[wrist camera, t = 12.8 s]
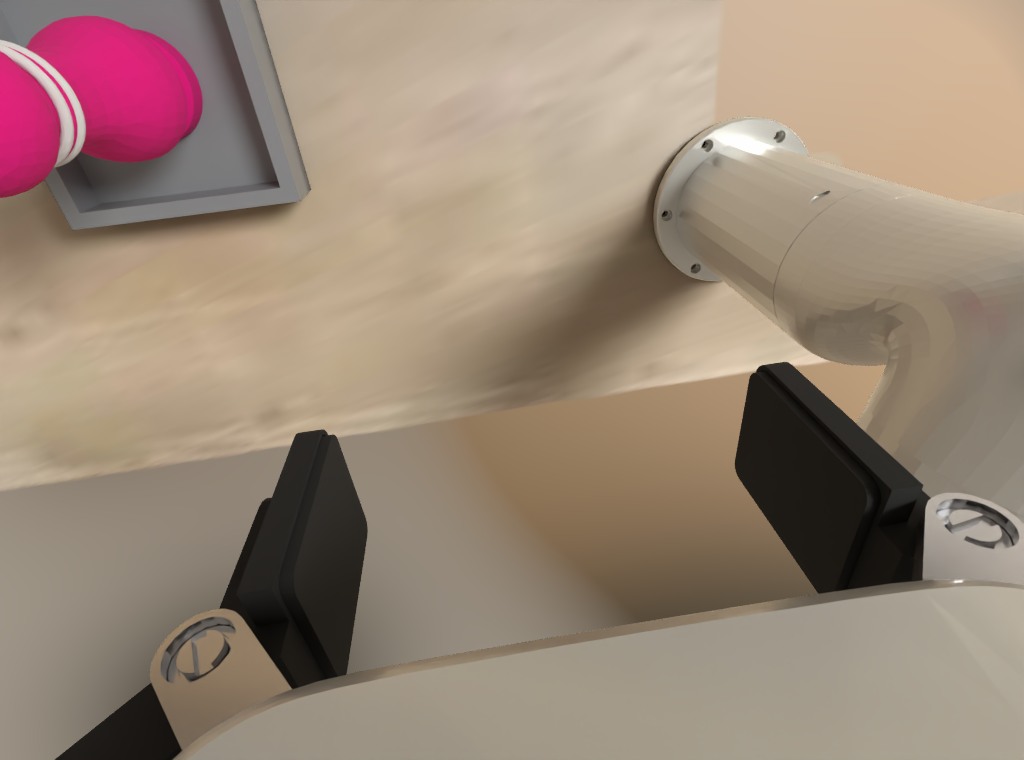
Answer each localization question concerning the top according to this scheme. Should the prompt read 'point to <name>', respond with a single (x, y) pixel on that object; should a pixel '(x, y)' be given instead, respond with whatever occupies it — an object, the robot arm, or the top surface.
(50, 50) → the pepper mill
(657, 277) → the top surface
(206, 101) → the tray
